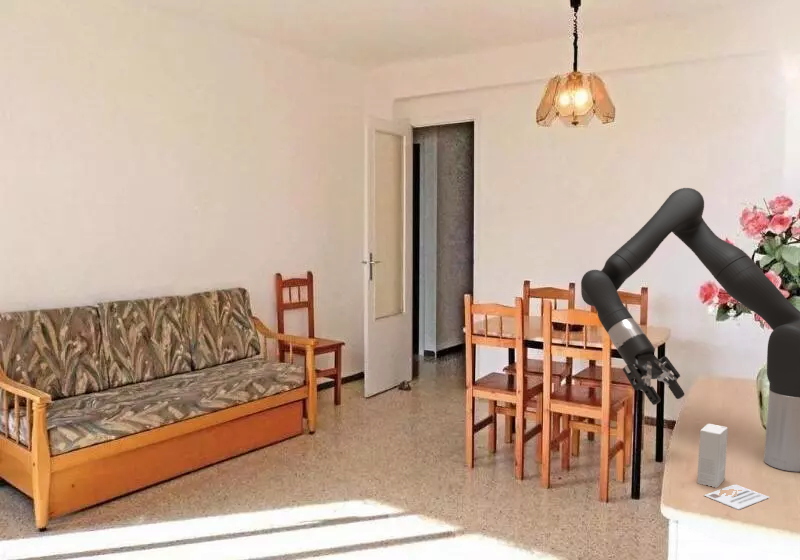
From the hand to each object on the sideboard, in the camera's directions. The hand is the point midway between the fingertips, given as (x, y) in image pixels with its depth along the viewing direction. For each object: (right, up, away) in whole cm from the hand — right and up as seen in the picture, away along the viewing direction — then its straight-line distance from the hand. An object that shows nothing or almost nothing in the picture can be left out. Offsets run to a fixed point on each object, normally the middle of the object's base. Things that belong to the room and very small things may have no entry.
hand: (669, 400), depth 156 cm
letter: (+8, -17, -16) cm, 24 cm away
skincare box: (+6, -17, -8) cm, 19 cm away
